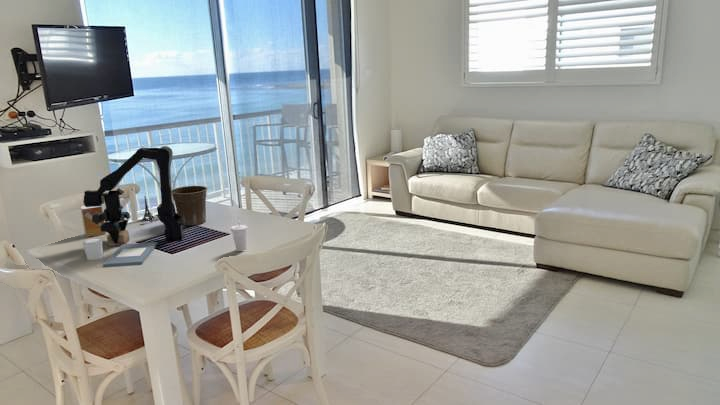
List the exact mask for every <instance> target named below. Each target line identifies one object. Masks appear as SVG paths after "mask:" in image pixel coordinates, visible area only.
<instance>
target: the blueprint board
mask: <svg viewBox="0 0 720 405" xmlns="http://www.w3.org/2000/svg"><path fill="white" fill-rule="evenodd" d="M156 245H158V241H154V242H152V241H150V242H138V243H135V242H134V243H126V244H122V245H119V246H118V248H117V249H116V250H115V251H114V252H113V253H112V255H111V256H109V257H108V259H107V260H106V261H105V262H104V263H103V264H102V265H103V267H115V266H116V267H119V266H131V265H133V266H134V265H143V264H144V263H145V262H146V260H147V259H148V258H149V256H150V255H151V254H152V252H153V251H154V249H156V247H157V246H156Z"/></svg>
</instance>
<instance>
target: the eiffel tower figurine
mask: <svg viewBox="0 0 720 405" xmlns="http://www.w3.org/2000/svg"><path fill="white" fill-rule="evenodd" d="M146 198H147V196H146V195H144V205H145V206H144V207H145V208H144V214H143V218H142V220H141V223H140V224H139V226H144V225H148V224H151V223H153V222H157V221H160V220H159V217H157V216H158V214H155V216H156V217H155V216H153V214H152V212H151V211H150V210H149V207H148V204H147V199H146ZM146 218H148V219H149V220H148V219H146ZM152 218H153V219H152ZM156 218H157V219H156ZM143 222H144V223H143Z"/></svg>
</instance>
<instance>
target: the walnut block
mask: <svg viewBox="0 0 720 405" xmlns="http://www.w3.org/2000/svg"><path fill="white" fill-rule="evenodd" d="M106 239H107V246H108V247H116V246H118V247H120V246H121V245H122V244H128V242H129V241H130V235H129V230H128V229H125V230H124V231H120V233H119V239H118V243H117V244H115V243H114V242H113V240H112V238H111V236H110V234H109V233H108V234H107V235H106Z"/></svg>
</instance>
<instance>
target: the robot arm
mask: <svg viewBox="0 0 720 405" xmlns="http://www.w3.org/2000/svg"><path fill="white" fill-rule="evenodd" d="M173 154H174V153H173V149H172V148H171V147H169V146H168V145H167V146H166V145H165V146H163V145H162V146H161V147H140V148H138V149H137V150H136V151H135V152H134V153H133V155H131V156H130V157H129V158H128V159H127V160H125V161H124V163H122V164H121V165H120V166H119V167H118V168H117V169H116V170H113V171H112V172H110V173H108V174H107V175H106V176H104V177H103V178H102V179H100V180H99V187H98V189H96V190H89V189H87V190H85V191H83V192H84V195H83V202H82V203H83V206H85V207H96V206H102V207H103V204H104V205H105V209H104V210H103V212H102V213H99V214H95V215H93V216H92V222H94V223H95V224H98V223H100V222H102V221H104V224H102V225H101V227H100V229H101V231H102V232H103V231H104V232H106V233H108V235H109V234H110V236H111V238H112V240H113V242H114V243H115V244H117V243H118V239H119V233H120V231H124V230H127V225H128V223H129V219H131V214H130V212H128V211H123V208H124V207H123V205H121V199H120V196H122V195H123V194H124V193H125V191H124V190H122V189H121V188H119V187H118V185H120V183H121V181H122V180H123V178H124V177H125V176H126V175H127V174H128V173H129V172H130V171H131V170H133V168H134V167H135V166H137V165H138V164H139V163H140V162H141V161H142V160H143V159H147V160H154V161H156V164H157V167H158V169H159V180H160V182H159V183H160V199H161V203H160V204H159V205H158V206H157V207H156V211H157V215H158V216H156V218H157V217H159V220H158V221H159V222H161V223H162V224H164V226H165V229H164V235H165V242H171V241H172V242H174V241H175V242H176V241H182V240H183V239H184V237H185V234H184V229H183V225H182V223H180V222H181V219H182V217H181V216H180V215H178V214H177V210H176V206H175V203H173V196H172V193H171V190H172V177H171V165H172V162H173V156H174V155H173ZM117 187H118V188H117ZM115 188H117V189H116V190H114V189H115Z"/></svg>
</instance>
